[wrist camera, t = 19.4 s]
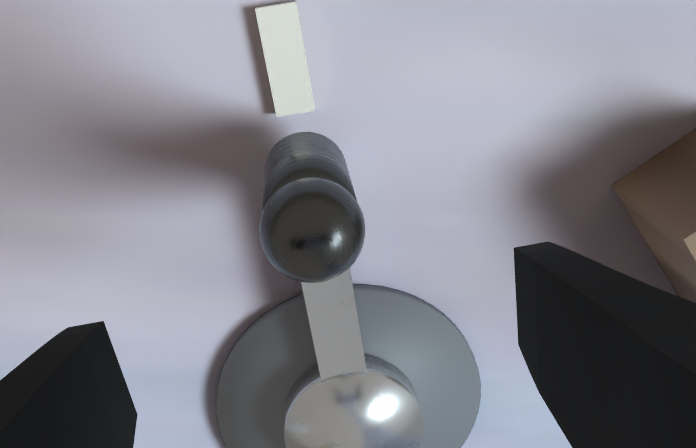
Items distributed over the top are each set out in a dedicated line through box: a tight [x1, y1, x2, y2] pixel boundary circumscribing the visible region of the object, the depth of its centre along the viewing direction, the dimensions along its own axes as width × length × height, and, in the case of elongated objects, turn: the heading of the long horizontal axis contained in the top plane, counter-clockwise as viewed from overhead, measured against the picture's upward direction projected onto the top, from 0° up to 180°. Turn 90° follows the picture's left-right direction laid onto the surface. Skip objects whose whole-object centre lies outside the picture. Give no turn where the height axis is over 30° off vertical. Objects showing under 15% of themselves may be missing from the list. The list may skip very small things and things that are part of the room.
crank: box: [259, 132, 424, 448], centre depth 20 cm, size 14×5×6 cm, turn 8°
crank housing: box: [216, 1, 481, 448], centre depth 23 cm, size 20×10×1 cm, turn 9°
